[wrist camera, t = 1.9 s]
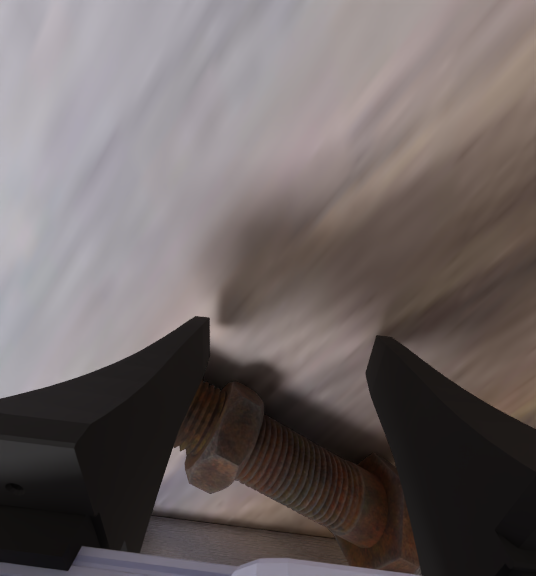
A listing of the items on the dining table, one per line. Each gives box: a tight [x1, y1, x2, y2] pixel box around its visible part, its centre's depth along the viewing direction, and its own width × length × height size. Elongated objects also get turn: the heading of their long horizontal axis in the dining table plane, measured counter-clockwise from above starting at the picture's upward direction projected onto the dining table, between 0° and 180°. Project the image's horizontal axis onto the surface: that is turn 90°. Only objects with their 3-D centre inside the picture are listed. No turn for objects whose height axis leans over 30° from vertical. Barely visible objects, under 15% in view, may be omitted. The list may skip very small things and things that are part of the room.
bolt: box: [173, 379, 420, 574], centre depth 14 cm, size 6×5×15 cm
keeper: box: [140, 516, 422, 576], centre depth 17 cm, size 12×23×4 cm, turn 85°
